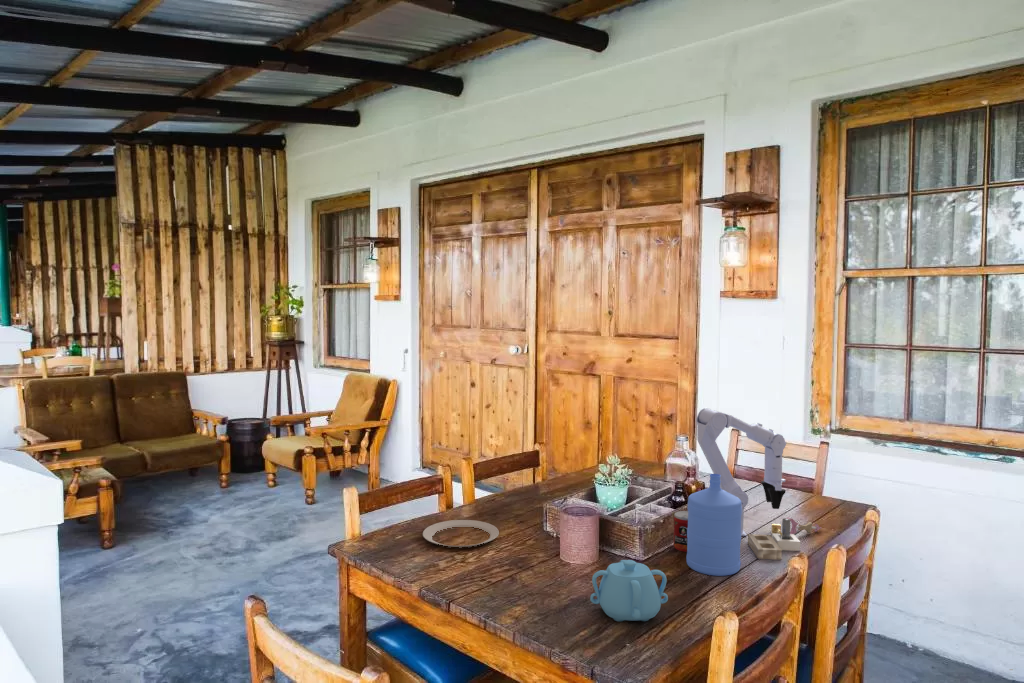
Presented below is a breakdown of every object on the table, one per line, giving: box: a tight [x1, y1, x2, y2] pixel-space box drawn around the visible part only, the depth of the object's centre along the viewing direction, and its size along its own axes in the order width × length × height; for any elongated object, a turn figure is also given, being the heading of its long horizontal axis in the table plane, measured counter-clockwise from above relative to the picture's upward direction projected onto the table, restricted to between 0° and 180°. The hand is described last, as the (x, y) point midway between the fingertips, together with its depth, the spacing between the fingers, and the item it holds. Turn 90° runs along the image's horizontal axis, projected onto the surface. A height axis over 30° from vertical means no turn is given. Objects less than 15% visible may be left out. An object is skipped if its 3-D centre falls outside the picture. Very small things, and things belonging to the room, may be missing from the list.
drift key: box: [770, 523, 782, 536], centre depth 235 cm, size 3×6×3 cm, turn 174°
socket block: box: [770, 532, 801, 552], centre depth 230 cm, size 7×16×3 cm, turn 174°
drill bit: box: [781, 517, 791, 540], centre depth 225 cm, size 2×2×9 cm
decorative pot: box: [589, 559, 669, 622], centre depth 178 cm, size 16×16×14 cm
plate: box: [422, 519, 500, 549], centre depth 233 cm, size 26×26×2 cm
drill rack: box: [747, 533, 783, 561], centre depth 222 cm, size 7×14×3 cm, turn 174°
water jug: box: [686, 473, 742, 577], centre depth 208 cm, size 16×16×28 cm
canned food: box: [673, 510, 688, 553], centre depth 224 cm, size 8×8×11 cm
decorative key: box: [786, 517, 822, 535], centre depth 236 cm, size 7×1×20 cm
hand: (772, 505), depth 242 cm, fingers open, 7 cm apart
